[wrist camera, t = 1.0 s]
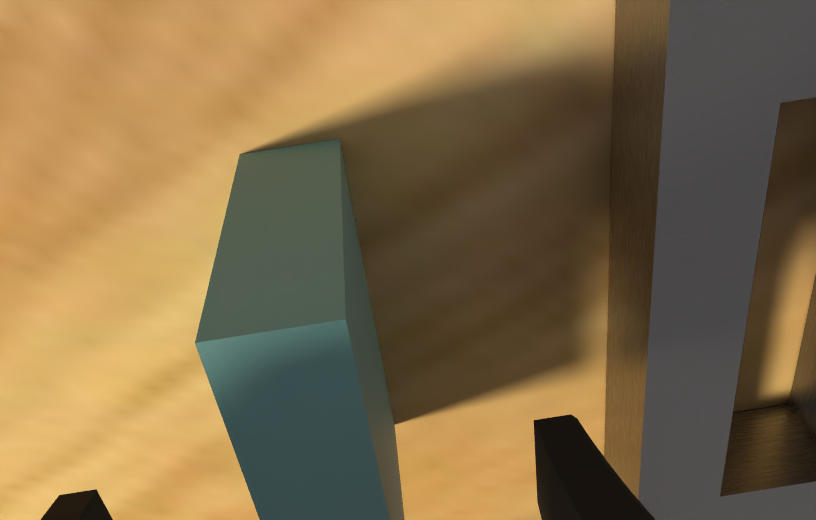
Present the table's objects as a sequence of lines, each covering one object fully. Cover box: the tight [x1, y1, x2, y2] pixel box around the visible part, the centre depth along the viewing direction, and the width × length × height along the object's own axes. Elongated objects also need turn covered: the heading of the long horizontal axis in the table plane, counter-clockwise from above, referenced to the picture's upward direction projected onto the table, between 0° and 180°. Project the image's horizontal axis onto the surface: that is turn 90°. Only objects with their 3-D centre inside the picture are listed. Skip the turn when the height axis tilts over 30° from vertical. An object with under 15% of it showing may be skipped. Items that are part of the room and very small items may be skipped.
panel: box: [195, 139, 404, 520], centre depth 14 cm, size 8×2×6 cm, turn 7°
